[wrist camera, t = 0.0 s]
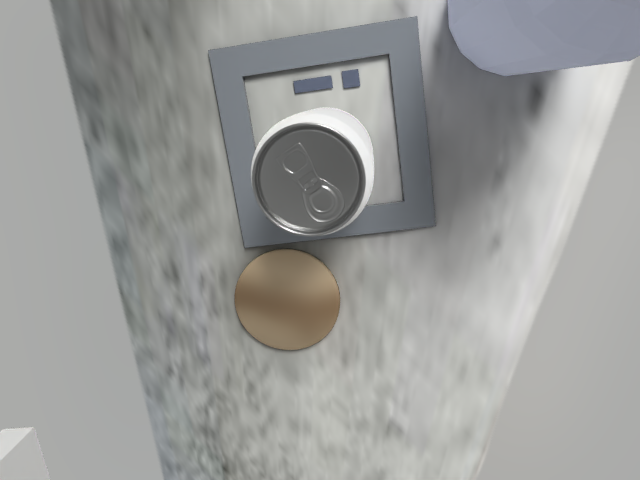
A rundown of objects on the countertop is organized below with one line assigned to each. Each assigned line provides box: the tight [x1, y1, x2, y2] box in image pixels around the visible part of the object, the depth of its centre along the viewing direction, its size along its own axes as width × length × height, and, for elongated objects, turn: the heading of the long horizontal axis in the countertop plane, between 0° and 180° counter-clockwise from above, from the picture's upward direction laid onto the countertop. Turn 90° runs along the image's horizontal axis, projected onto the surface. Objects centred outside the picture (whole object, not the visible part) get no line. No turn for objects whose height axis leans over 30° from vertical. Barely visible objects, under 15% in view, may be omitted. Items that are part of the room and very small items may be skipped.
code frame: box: [208, 16, 436, 248], centre depth 37 cm, size 14×14×1 cm
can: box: [251, 107, 374, 236], centre depth 32 cm, size 6×6×12 cm
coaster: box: [235, 249, 340, 350], centre depth 40 cm, size 8×8×1 cm
